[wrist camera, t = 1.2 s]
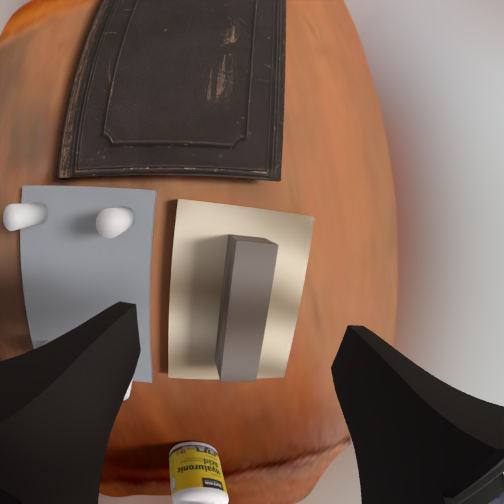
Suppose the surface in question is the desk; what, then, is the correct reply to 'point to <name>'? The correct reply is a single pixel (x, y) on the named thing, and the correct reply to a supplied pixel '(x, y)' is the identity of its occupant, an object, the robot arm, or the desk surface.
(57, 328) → the peg stand
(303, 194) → the desk surface
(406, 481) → the robot arm
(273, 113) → the hardcover book
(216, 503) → the supplement bottle
